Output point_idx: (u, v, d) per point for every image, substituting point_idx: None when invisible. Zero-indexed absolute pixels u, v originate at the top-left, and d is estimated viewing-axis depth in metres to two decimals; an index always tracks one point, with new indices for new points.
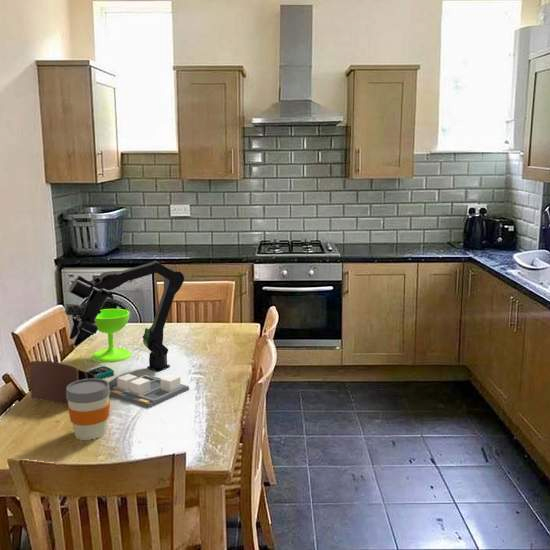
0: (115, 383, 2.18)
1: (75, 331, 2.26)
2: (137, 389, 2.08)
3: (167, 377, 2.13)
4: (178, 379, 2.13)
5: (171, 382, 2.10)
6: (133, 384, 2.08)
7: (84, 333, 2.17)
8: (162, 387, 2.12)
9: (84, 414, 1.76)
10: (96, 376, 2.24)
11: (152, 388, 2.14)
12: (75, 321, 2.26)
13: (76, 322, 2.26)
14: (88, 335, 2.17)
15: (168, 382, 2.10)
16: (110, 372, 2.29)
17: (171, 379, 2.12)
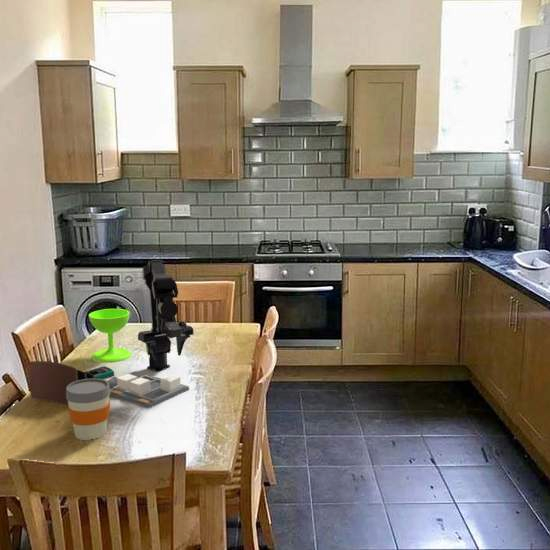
0: (110, 380, 2.18)
1: None
2: (137, 389, 2.08)
3: (167, 377, 2.13)
4: (178, 379, 2.13)
5: (171, 382, 2.10)
6: (133, 384, 2.08)
7: None
8: (162, 387, 2.12)
9: (84, 414, 1.76)
10: (95, 376, 2.24)
11: (152, 388, 2.14)
12: None
13: None
14: None
15: (168, 382, 2.10)
16: (110, 373, 2.28)
17: (171, 379, 2.12)
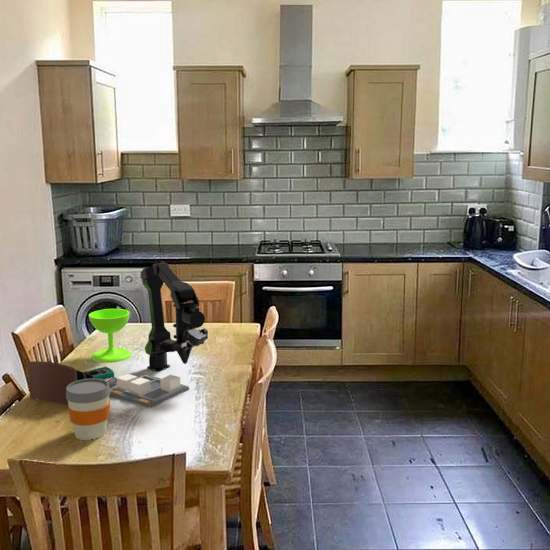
0: (108, 380, 2.18)
1: None
2: (137, 389, 2.08)
3: (167, 377, 2.13)
4: (178, 379, 2.13)
5: (171, 382, 2.10)
6: (133, 384, 2.08)
7: None
8: (162, 387, 2.12)
9: (84, 414, 1.76)
10: (94, 377, 2.24)
11: (152, 388, 2.14)
12: None
13: None
14: None
15: (168, 382, 2.10)
16: (110, 374, 2.28)
17: (171, 379, 2.12)
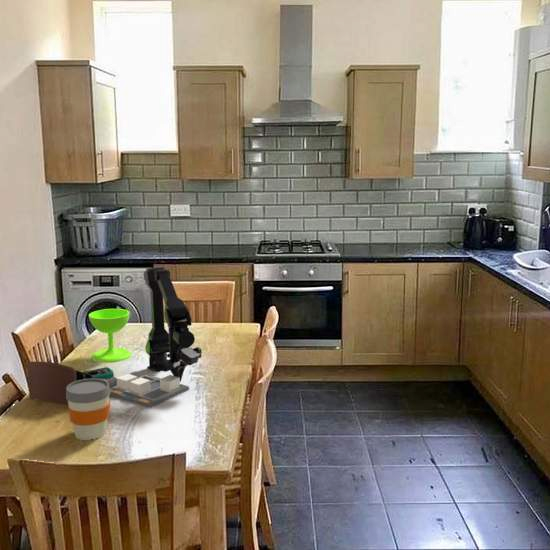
0: (108, 380, 2.18)
1: None
2: (137, 389, 2.08)
3: (166, 377, 2.13)
4: (177, 379, 2.13)
5: (170, 382, 2.10)
6: (133, 384, 2.08)
7: None
8: (161, 387, 2.12)
9: (84, 414, 1.76)
10: None
11: (152, 388, 2.14)
12: None
13: None
14: None
15: (167, 382, 2.10)
16: (109, 374, 2.27)
17: (170, 379, 2.11)
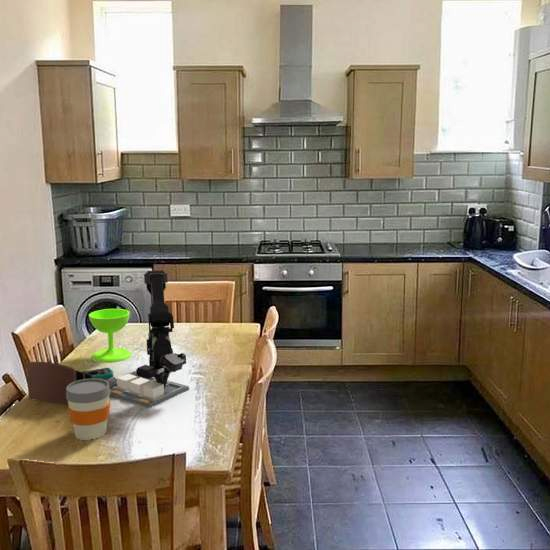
0: (108, 380, 2.18)
1: None
2: (137, 389, 2.08)
3: (150, 384, 2.07)
4: (161, 386, 2.06)
5: (154, 389, 2.04)
6: (133, 384, 2.08)
7: None
8: (145, 394, 2.06)
9: (84, 414, 1.76)
10: None
11: None
12: None
13: None
14: None
15: (151, 389, 2.04)
16: (108, 375, 2.26)
17: (154, 386, 2.05)
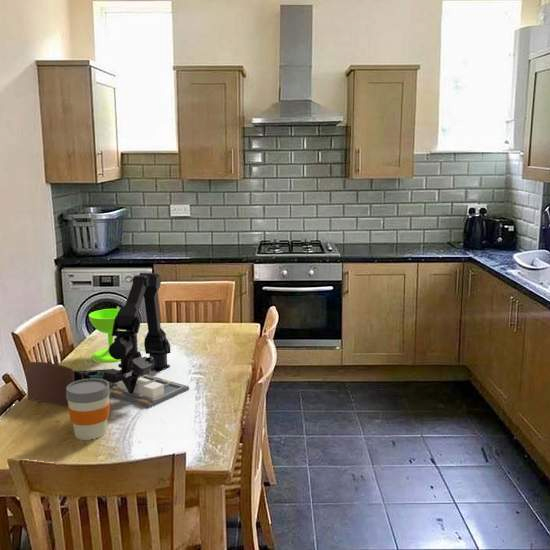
0: None
1: None
2: (137, 389, 2.08)
3: (150, 384, 2.07)
4: (161, 386, 2.06)
5: (154, 389, 2.04)
6: None
7: None
8: (145, 394, 2.06)
9: (84, 414, 1.76)
10: None
11: None
12: None
13: None
14: None
15: (151, 389, 2.04)
16: None
17: (154, 386, 2.05)
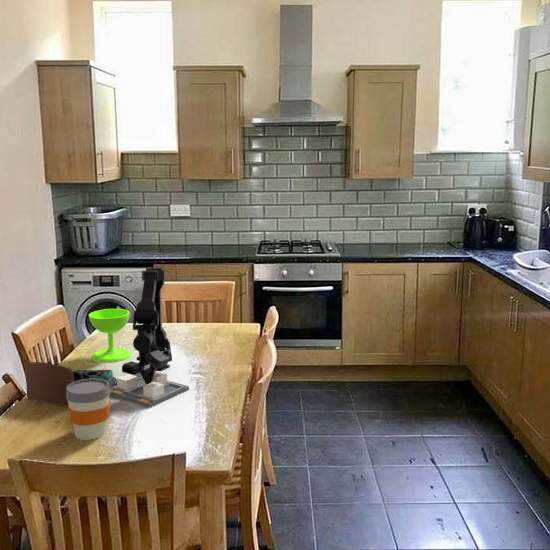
0: (107, 380, 2.18)
1: None
2: None
3: (150, 384, 2.07)
4: (161, 386, 2.06)
5: (154, 389, 2.04)
6: None
7: None
8: (145, 394, 2.06)
9: (84, 414, 1.76)
10: None
11: None
12: None
13: None
14: None
15: (151, 389, 2.04)
16: (103, 378, 2.23)
17: (154, 386, 2.05)
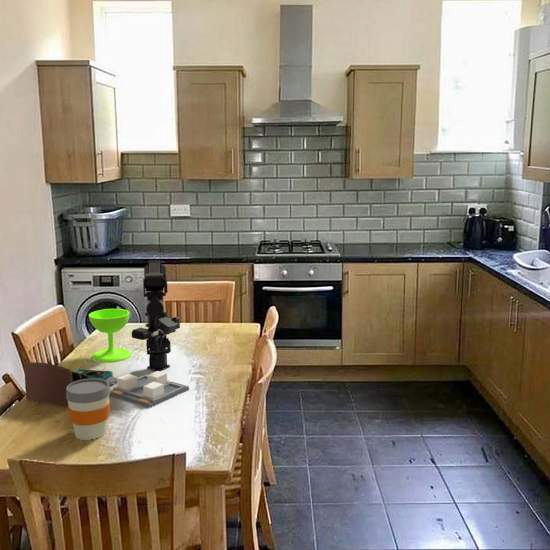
0: None
1: None
2: None
3: (150, 384, 2.07)
4: (161, 386, 2.06)
5: (154, 389, 2.04)
6: (150, 377, 2.15)
7: None
8: (145, 394, 2.06)
9: (84, 414, 1.76)
10: None
11: None
12: None
13: None
14: None
15: (151, 389, 2.04)
16: None
17: (154, 386, 2.05)
